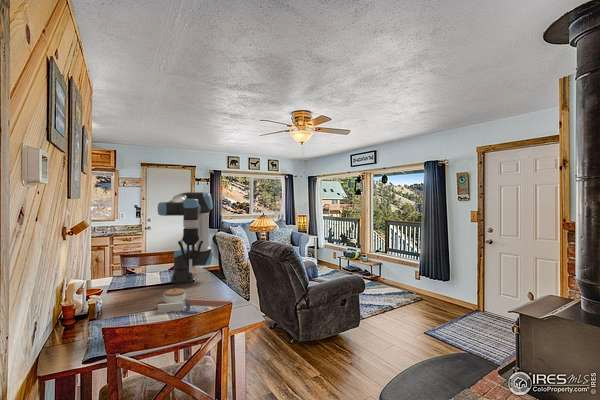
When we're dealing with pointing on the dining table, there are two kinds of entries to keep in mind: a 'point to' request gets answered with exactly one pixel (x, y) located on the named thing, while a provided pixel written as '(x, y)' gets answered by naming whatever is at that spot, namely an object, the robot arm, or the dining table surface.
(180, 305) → the socket channel
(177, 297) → the lidded jar
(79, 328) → the dining table surface
